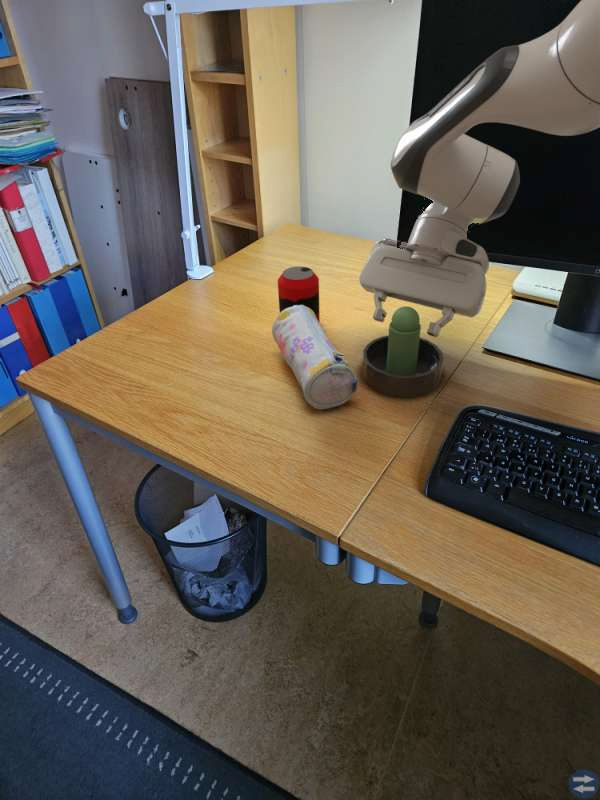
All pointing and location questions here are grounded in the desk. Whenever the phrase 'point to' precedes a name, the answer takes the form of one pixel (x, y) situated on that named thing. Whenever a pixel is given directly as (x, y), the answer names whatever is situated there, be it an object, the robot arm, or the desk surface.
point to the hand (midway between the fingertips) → (404, 327)
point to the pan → (397, 384)
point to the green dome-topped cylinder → (403, 342)
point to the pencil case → (313, 358)
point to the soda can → (299, 289)
